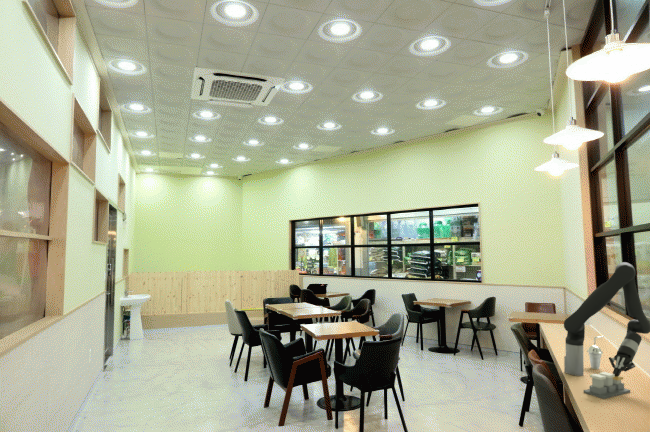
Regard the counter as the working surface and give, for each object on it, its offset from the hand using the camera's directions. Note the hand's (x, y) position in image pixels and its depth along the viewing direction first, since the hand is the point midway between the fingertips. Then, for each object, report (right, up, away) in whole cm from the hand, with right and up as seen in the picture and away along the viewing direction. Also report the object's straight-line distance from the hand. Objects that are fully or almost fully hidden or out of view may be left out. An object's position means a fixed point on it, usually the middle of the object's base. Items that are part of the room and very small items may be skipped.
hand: (615, 375), depth 229 cm
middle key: (-7, -4, -4) cm, 9 cm away
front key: (-14, -4, -7) cm, 16 cm away
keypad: (-7, -7, -4) cm, 11 cm away
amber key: (0, -7, 0) cm, 7 cm away
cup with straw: (+16, -11, +42) cm, 46 cm away
